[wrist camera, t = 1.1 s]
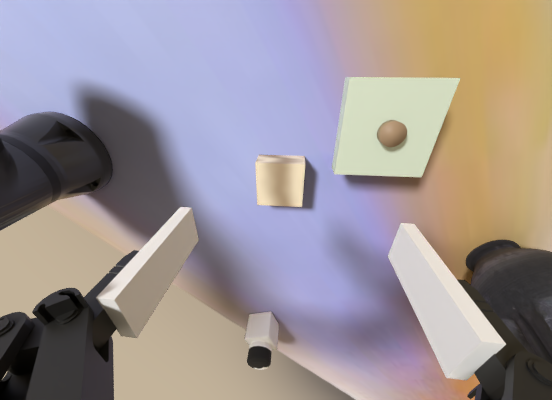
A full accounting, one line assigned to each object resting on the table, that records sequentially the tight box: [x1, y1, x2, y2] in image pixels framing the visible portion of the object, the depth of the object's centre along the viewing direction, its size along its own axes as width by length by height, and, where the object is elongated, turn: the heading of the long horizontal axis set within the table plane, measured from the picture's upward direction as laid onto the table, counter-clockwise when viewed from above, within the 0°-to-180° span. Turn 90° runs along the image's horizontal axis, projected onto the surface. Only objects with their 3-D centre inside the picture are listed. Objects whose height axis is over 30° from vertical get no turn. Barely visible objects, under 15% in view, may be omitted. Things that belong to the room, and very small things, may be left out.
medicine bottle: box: [245, 311, 279, 370], centre depth 58 cm, size 7×7×12 cm
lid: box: [332, 77, 460, 177], centre depth 27 cm, size 12×12×4 cm
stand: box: [255, 155, 305, 207], centre depth 38 cm, size 8×8×4 cm
